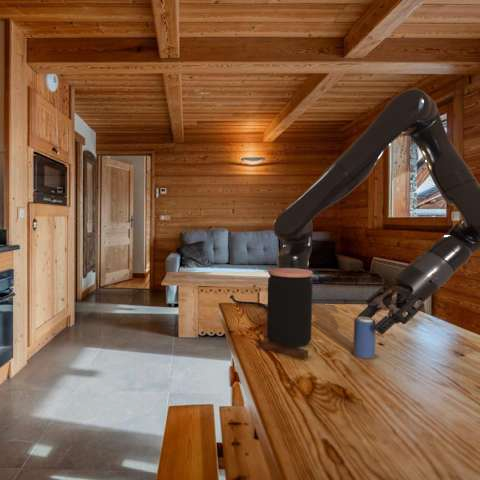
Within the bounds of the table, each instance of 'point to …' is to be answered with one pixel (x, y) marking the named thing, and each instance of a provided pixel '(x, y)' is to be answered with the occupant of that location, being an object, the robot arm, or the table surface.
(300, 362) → the table surface
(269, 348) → the walnut stick
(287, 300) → the coffee jar
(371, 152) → the robot arm
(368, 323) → the salt shaker
